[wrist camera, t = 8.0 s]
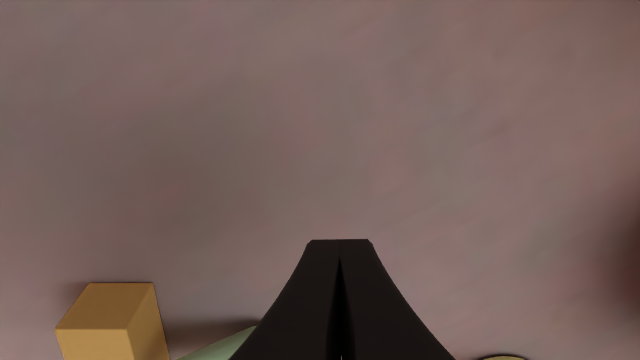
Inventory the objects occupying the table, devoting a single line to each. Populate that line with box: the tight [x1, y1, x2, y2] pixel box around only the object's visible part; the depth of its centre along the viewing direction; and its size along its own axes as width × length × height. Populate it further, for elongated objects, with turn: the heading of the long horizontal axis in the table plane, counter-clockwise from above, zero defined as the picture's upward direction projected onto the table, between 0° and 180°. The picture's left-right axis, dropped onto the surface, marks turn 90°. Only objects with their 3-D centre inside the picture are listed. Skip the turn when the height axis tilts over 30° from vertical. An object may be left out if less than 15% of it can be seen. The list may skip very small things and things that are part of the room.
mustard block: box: [54, 283, 170, 360], centre depth 21 cm, size 3×6×3 cm, turn 1°
